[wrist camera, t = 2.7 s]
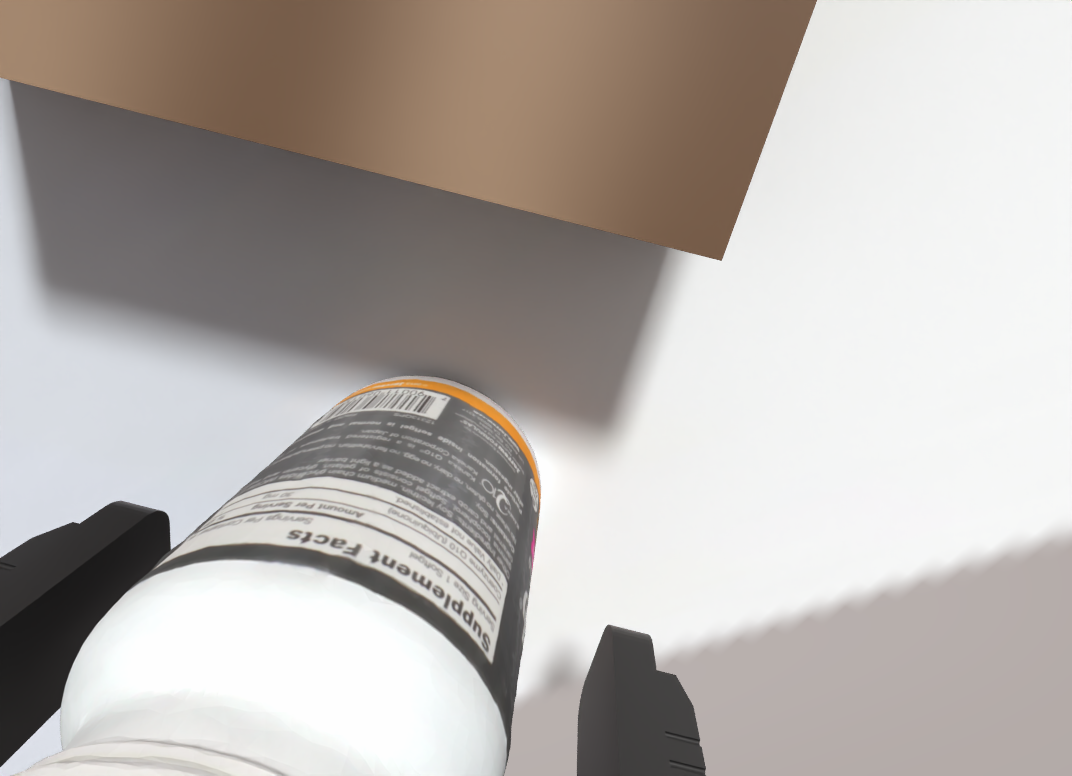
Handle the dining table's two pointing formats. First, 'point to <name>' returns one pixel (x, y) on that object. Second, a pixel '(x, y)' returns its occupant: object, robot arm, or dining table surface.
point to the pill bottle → (329, 609)
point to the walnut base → (456, 92)
